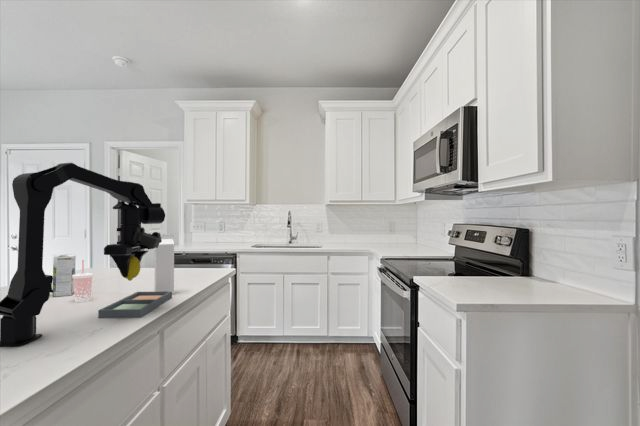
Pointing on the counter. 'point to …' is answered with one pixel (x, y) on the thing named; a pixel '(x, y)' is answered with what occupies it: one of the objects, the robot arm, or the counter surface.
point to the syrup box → (63, 275)
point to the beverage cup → (82, 285)
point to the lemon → (133, 268)
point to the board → (135, 305)
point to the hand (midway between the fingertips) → (130, 275)
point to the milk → (164, 265)
